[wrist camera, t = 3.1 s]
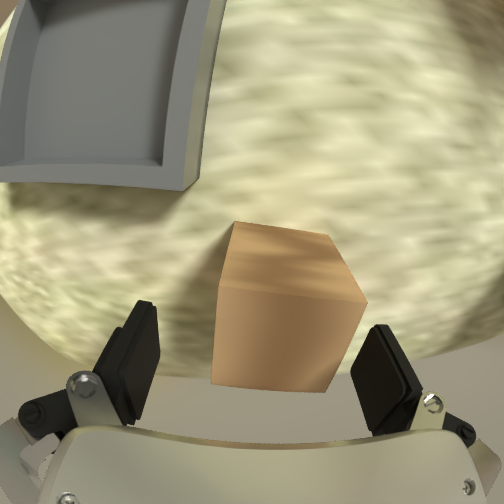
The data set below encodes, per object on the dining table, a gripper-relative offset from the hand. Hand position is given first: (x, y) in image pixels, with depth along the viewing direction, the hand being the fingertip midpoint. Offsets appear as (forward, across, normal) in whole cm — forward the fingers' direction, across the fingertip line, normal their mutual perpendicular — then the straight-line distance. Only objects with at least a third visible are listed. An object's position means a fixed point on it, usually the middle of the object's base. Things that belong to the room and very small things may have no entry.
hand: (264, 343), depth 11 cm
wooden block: (+6, -1, 0) cm, 7 cm away
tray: (+7, +11, -12) cm, 18 cm away
